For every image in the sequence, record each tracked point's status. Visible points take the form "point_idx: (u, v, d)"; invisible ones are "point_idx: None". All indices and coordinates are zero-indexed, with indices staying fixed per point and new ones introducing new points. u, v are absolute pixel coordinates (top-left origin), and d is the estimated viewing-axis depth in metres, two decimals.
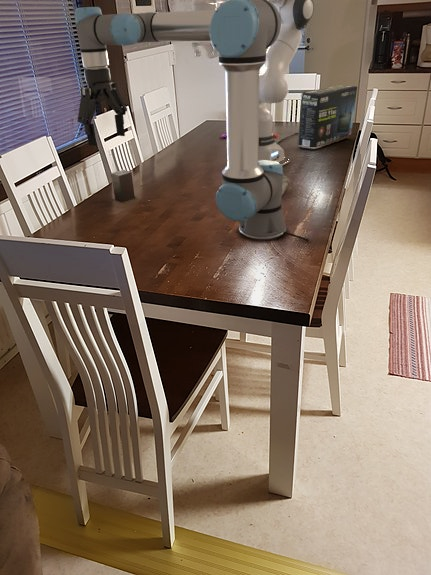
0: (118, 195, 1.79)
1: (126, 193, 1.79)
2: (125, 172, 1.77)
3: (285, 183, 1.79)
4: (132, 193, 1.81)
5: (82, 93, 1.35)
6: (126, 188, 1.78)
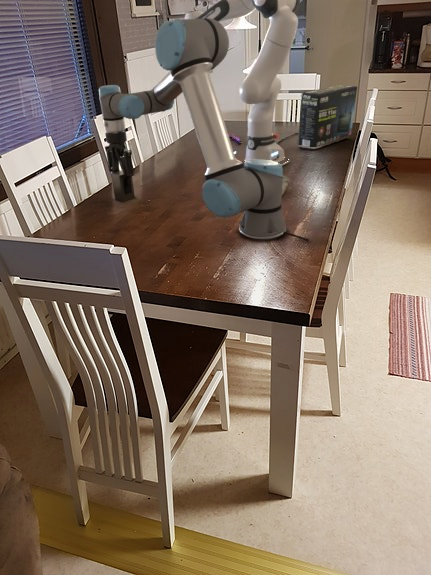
0: (118, 195, 1.79)
1: None
2: None
3: (285, 183, 1.79)
4: (132, 193, 1.81)
5: (127, 155, 1.69)
6: None
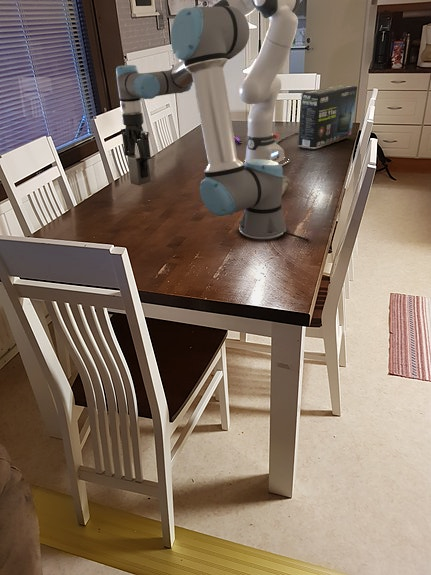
0: (134, 179, 1.76)
1: None
2: None
3: (285, 183, 1.79)
4: (148, 177, 1.78)
5: (145, 137, 1.66)
6: None
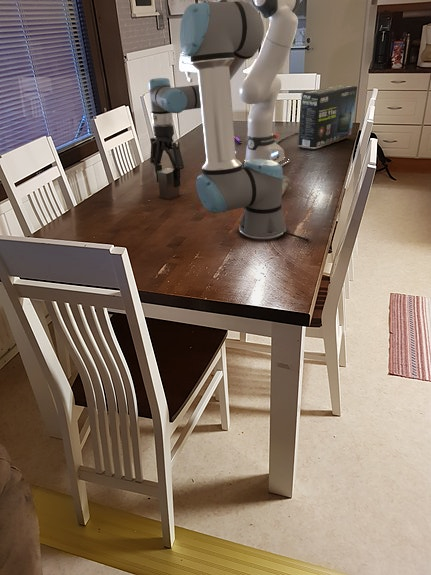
0: (163, 193, 1.79)
1: (172, 191, 1.79)
2: (172, 170, 1.77)
3: (285, 183, 1.79)
4: (177, 191, 1.81)
5: (176, 146, 1.68)
6: (172, 186, 1.78)
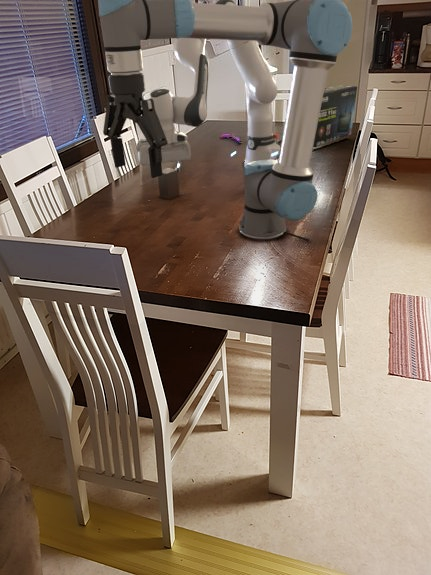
0: (163, 193, 1.79)
1: (172, 191, 1.79)
2: (172, 170, 1.77)
3: None
4: (177, 191, 1.81)
5: (148, 107, 0.97)
6: (172, 186, 1.78)
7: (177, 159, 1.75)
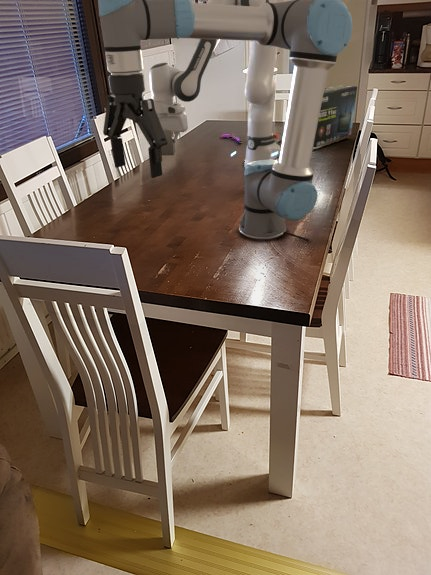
0: None
1: (164, 149, 1.94)
2: None
3: None
4: (171, 150, 1.94)
5: (148, 107, 0.97)
6: None
7: (172, 130, 1.89)
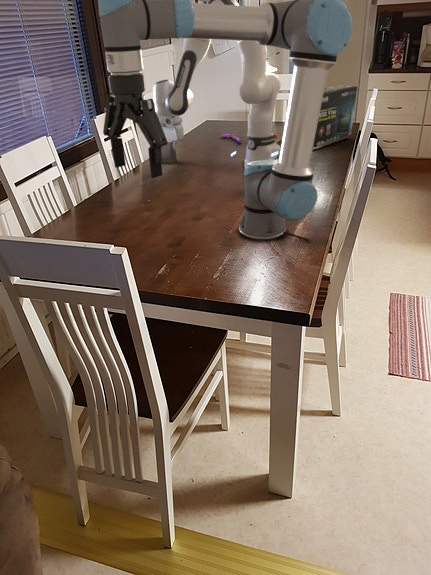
0: None
1: (164, 157, 2.21)
2: None
3: None
4: (169, 160, 2.20)
5: (148, 107, 0.97)
6: (164, 153, 2.20)
7: (170, 138, 2.14)
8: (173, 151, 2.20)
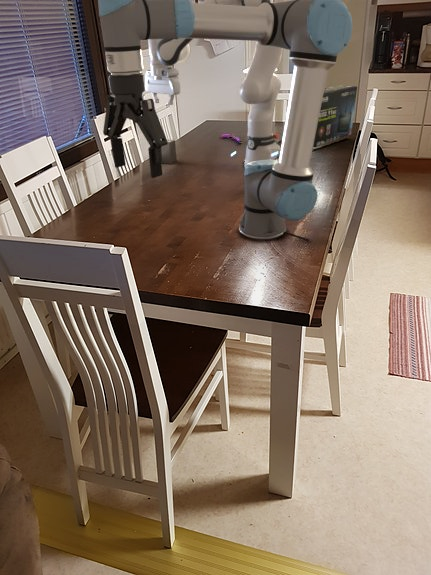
0: None
1: (164, 157, 2.21)
2: None
3: None
4: (169, 160, 2.20)
5: (148, 107, 0.97)
6: (164, 153, 2.20)
7: (166, 92, 2.04)
8: (173, 151, 2.20)
